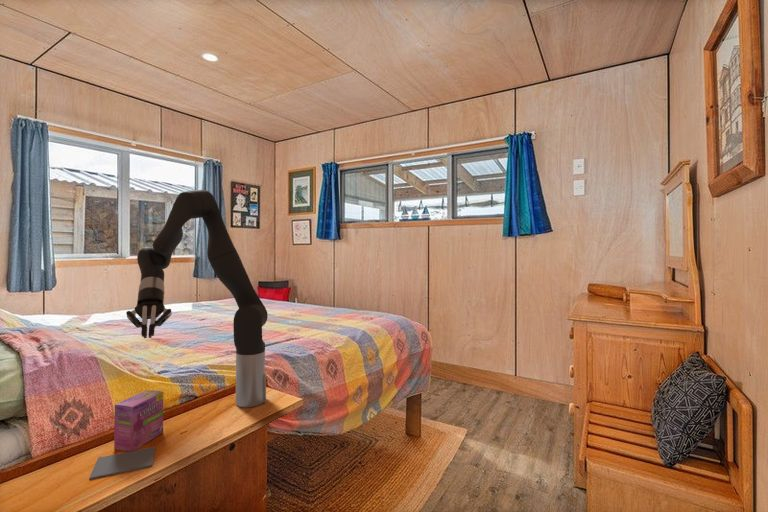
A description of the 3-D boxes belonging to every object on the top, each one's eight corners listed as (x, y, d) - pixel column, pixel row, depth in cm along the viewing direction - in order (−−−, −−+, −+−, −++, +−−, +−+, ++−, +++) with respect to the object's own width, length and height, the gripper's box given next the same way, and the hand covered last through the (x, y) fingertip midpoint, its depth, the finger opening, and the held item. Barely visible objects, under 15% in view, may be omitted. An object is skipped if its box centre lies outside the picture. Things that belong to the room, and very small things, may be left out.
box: (132, 452, 95) (132, 406, 95) (113, 449, 96) (113, 404, 96) (164, 432, 105) (164, 391, 105) (146, 430, 106) (146, 389, 106)
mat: (155, 447, 97) (155, 446, 97) (152, 466, 89) (152, 464, 89) (98, 459, 91) (98, 457, 91) (89, 479, 83) (89, 478, 83)
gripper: (126, 287, 122) (120, 332, 112) (173, 285, 128) (171, 328, 118) (128, 301, 127) (123, 345, 116) (174, 299, 133) (172, 341, 123)
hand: (147, 336), depth 117 cm, fingers closed
